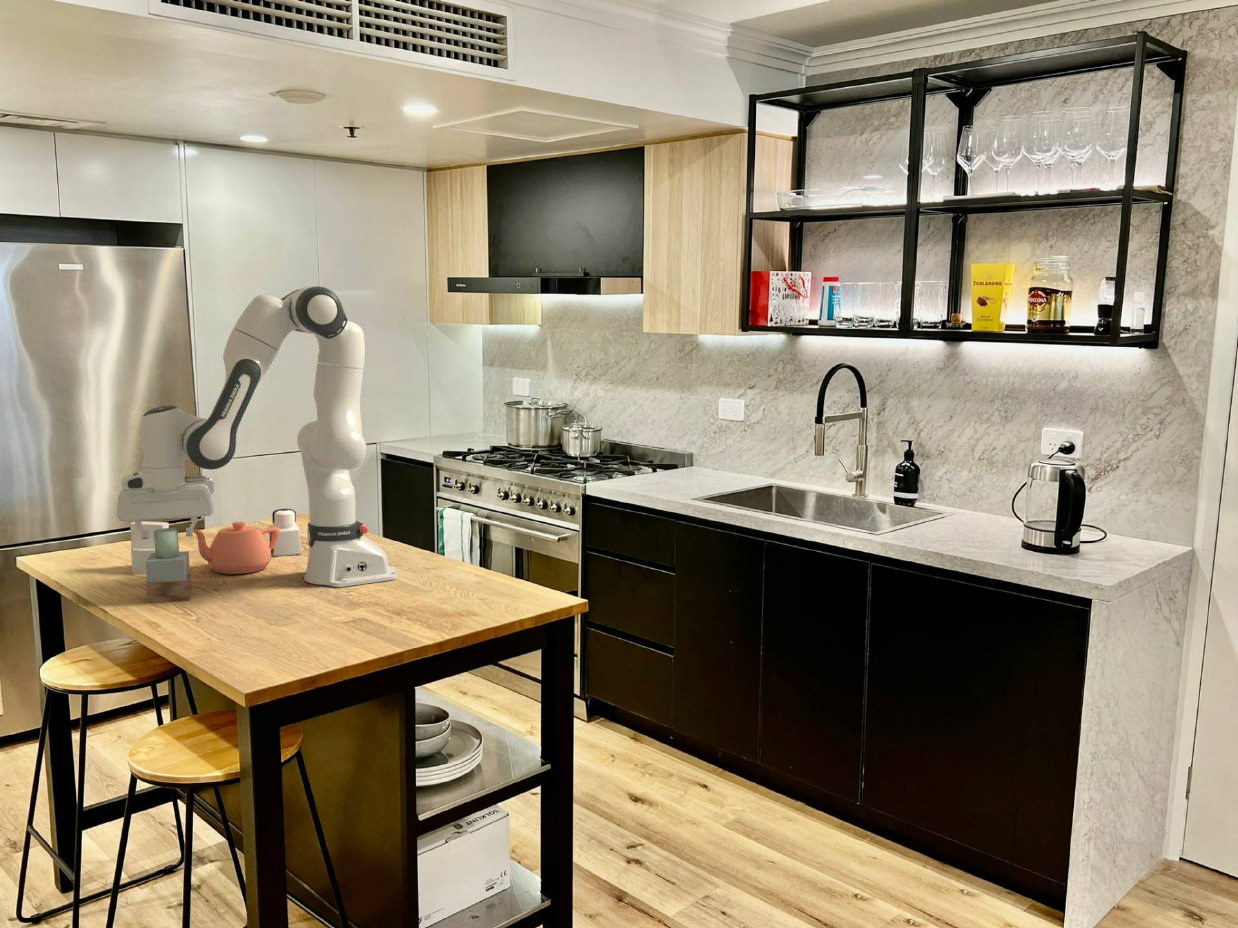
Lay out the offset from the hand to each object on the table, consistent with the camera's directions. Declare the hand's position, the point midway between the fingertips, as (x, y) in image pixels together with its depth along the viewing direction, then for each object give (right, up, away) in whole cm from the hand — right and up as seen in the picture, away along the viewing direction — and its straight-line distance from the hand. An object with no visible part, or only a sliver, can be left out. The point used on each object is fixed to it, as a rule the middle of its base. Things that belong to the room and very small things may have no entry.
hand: (167, 537), depth 235 cm
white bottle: (+13, -8, +45) cm, 47 cm away
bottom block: (0, -14, +2) cm, 14 cm away
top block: (0, -9, +1) cm, 9 cm away
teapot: (+6, -10, +27) cm, 29 cm away
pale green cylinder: (0, -4, 0) cm, 4 cm away
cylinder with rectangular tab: (-15, -10, +25) cm, 31 cm away
